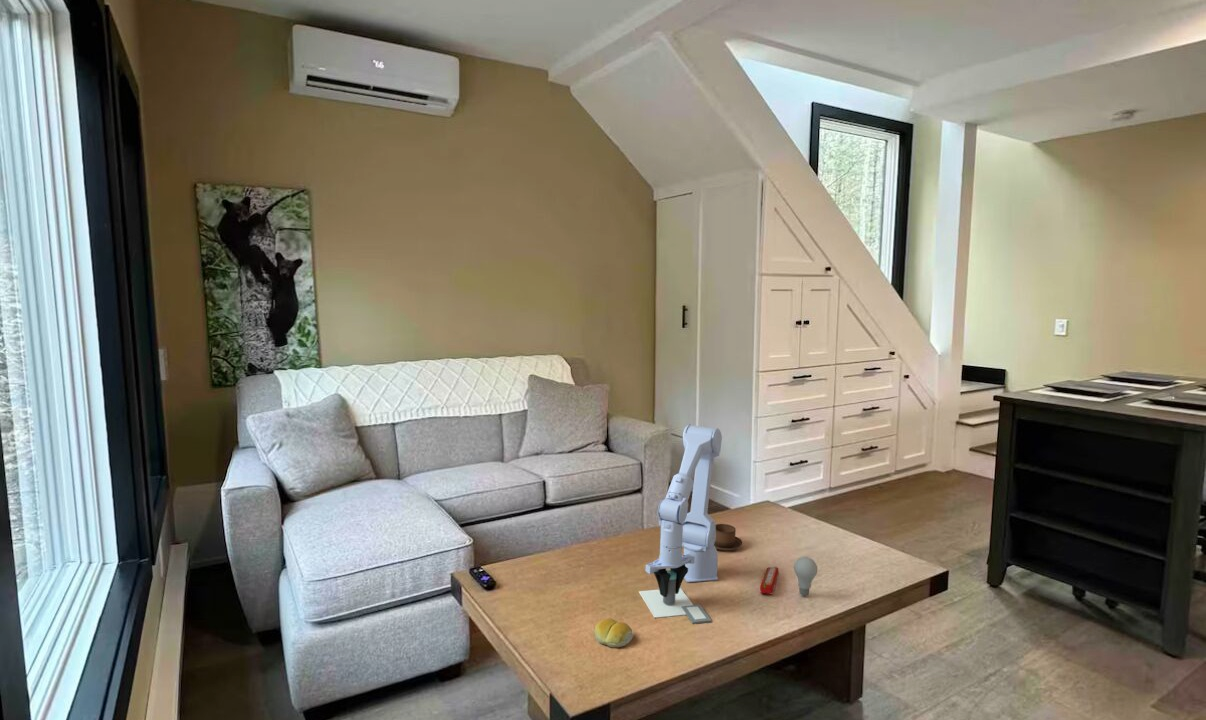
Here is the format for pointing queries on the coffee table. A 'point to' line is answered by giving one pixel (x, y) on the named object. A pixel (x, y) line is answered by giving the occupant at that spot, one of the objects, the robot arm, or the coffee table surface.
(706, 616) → the picture frame
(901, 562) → the coffee table surface
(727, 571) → the coffee table surface
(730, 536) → the cup and saucer
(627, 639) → the bread roll
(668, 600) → the grey teal-capped tube
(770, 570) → the candy bar
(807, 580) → the lightbulb
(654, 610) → the paper
